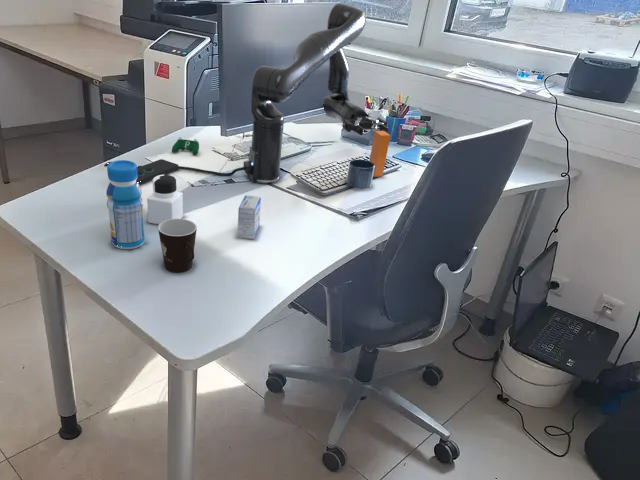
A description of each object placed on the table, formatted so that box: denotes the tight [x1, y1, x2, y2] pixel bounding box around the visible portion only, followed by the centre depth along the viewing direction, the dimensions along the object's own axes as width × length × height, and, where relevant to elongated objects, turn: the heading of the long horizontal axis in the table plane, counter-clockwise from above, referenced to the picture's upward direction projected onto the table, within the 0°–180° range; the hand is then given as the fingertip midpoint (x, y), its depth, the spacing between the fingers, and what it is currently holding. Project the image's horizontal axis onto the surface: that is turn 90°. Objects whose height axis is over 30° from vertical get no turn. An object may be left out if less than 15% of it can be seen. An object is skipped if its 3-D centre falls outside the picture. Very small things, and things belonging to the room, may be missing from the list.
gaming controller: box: [171, 136, 200, 156], centre depth 193 cm, size 9×4×6 cm
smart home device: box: [136, 158, 179, 186], centre depth 174 cm, size 8×2×20 cm
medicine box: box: [237, 195, 262, 240], centre depth 143 cm, size 8×4×9 cm, turn 168°
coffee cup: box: [346, 159, 375, 190], centre depth 173 cm, size 8×8×7 cm
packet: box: [369, 130, 391, 178], centre depth 179 cm, size 3×5×14 cm
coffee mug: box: [157, 218, 198, 274], centre depth 125 cm, size 12×9×10 cm
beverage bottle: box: [105, 159, 146, 250], centre depth 132 cm, size 8×8×20 cm
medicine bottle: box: [146, 174, 184, 225], centre depth 146 cm, size 7×7×12 cm
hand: (374, 131), depth 180 cm, fingers open, 8 cm apart
